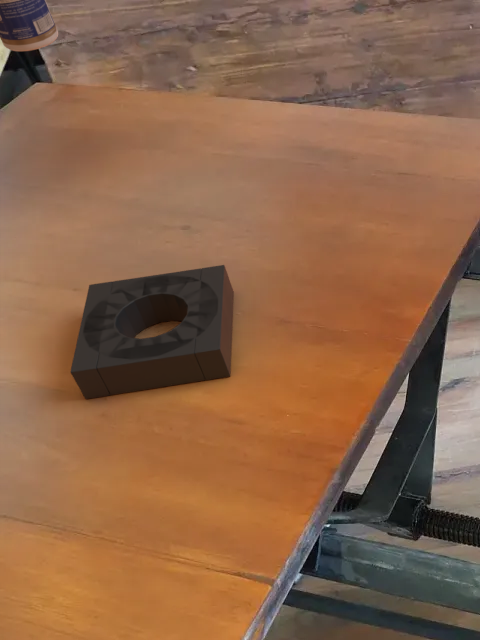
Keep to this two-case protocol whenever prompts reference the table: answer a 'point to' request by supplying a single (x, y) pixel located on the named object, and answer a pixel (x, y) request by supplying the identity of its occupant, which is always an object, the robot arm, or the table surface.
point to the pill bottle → (26, 24)
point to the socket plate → (163, 350)
